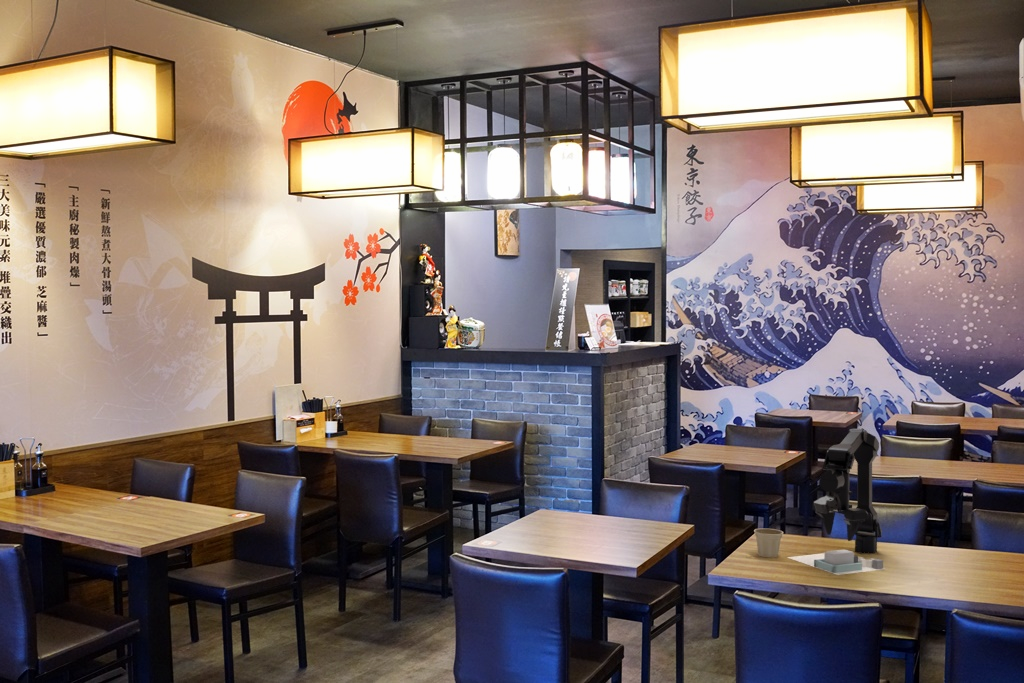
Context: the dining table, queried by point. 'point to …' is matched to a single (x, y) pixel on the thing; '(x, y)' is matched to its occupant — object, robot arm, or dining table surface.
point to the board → (810, 558)
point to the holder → (837, 566)
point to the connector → (840, 557)
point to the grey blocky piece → (877, 564)
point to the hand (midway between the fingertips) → (839, 537)
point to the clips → (866, 562)
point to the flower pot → (768, 542)
